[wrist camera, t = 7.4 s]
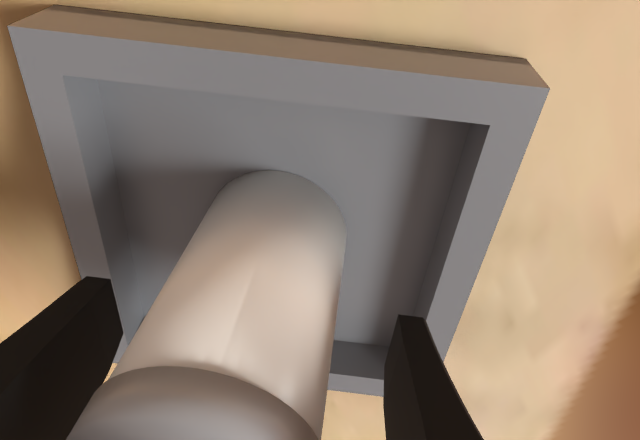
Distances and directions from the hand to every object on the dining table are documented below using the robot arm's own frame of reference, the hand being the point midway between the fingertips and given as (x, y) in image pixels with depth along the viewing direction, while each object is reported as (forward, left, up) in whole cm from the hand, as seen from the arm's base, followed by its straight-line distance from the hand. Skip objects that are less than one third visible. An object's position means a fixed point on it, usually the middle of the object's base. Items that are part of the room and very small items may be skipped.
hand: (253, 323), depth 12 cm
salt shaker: (0, 0, -4) cm, 4 cm away
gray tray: (0, 0, -4) cm, 4 cm away
